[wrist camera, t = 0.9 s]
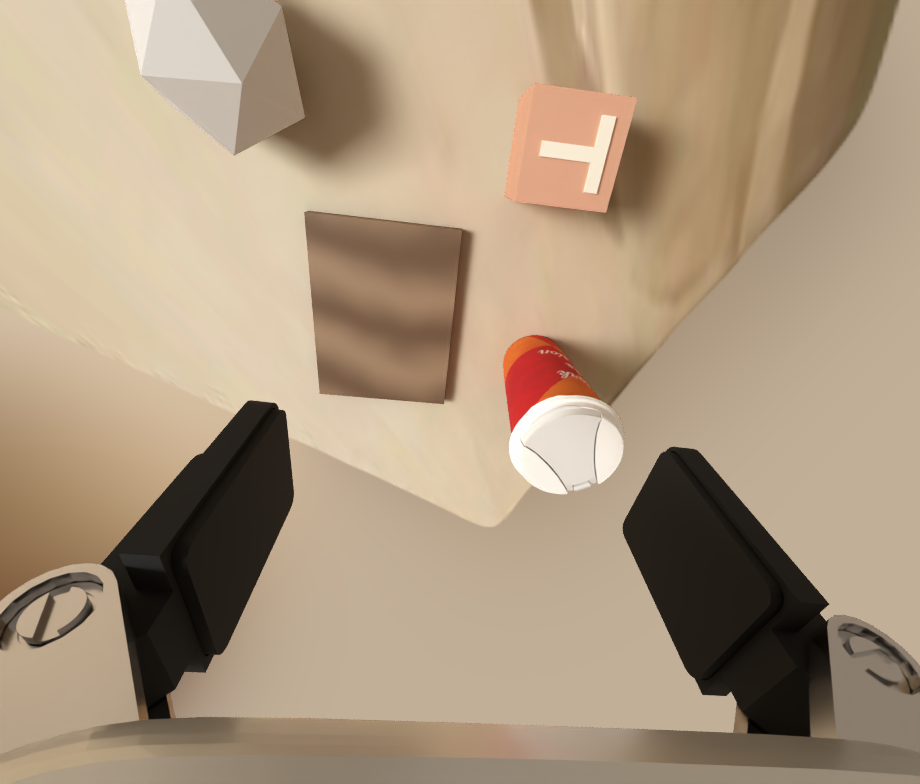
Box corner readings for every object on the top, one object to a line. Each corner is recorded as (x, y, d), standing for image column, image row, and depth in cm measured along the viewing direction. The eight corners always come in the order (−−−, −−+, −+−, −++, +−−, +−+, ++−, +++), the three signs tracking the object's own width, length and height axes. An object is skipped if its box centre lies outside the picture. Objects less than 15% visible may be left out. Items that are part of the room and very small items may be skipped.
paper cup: (581, 379, 38) (641, 479, 26) (508, 406, 39) (533, 512, 27) (559, 309, 34) (617, 386, 22) (479, 342, 36) (493, 431, 24)
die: (216, -55, 23) (32, -57, 18) (323, -37, 21) (146, -33, 15) (262, 109, 29) (137, 143, 24) (347, 137, 27) (229, 183, 22)
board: (308, 211, 30) (304, 212, 29) (461, 228, 31) (462, 230, 30) (322, 388, 38) (319, 393, 37) (444, 398, 39) (443, 404, 38)
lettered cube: (518, 99, 27) (535, 82, 21) (602, 111, 27) (638, 97, 22) (504, 195, 30) (515, 201, 24) (579, 204, 30) (607, 212, 25)
